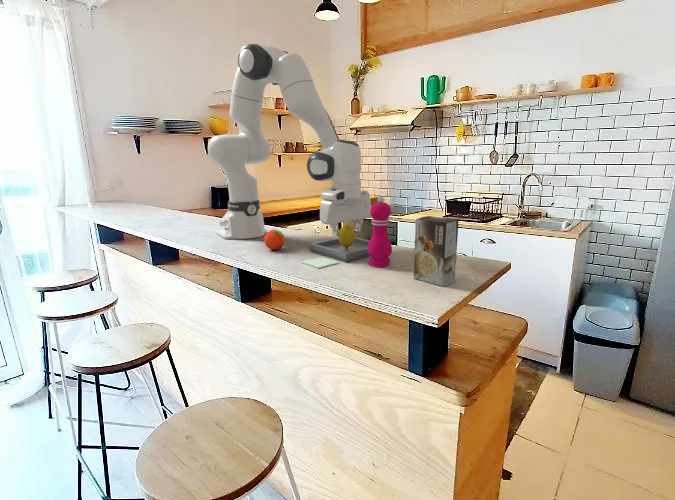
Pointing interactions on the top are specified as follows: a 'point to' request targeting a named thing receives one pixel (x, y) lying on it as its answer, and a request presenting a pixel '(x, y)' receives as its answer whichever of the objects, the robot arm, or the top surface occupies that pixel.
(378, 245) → the pepper mill
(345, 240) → the lemon
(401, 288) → the top surface
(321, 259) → the green mat
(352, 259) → the slate tray
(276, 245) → the clementine
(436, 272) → the coffee box
